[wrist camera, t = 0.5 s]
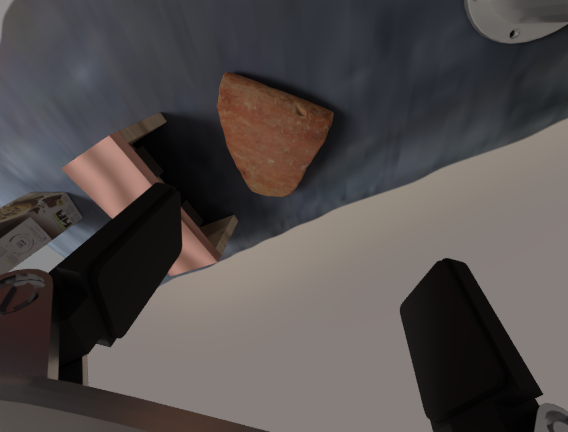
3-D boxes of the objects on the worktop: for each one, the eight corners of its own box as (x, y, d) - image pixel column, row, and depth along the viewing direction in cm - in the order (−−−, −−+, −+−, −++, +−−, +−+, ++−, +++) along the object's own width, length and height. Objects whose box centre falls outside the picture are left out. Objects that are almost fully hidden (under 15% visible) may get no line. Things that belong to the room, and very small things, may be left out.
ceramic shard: (197, 179, 37) (219, 66, 30) (217, 168, 43) (240, 71, 35) (290, 220, 36) (335, 114, 29) (298, 203, 42) (338, 111, 35)
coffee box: (66, 190, 49) (-30, 247, 36) (84, 218, 53) (3, 278, 40) (28, 191, 51) (-77, 245, 38) (48, 217, 54) (-41, 275, 41)
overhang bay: (160, 112, 37) (109, 135, 29) (238, 220, 47) (217, 262, 38) (117, 140, 41) (61, 168, 32) (197, 235, 50) (170, 276, 42)
